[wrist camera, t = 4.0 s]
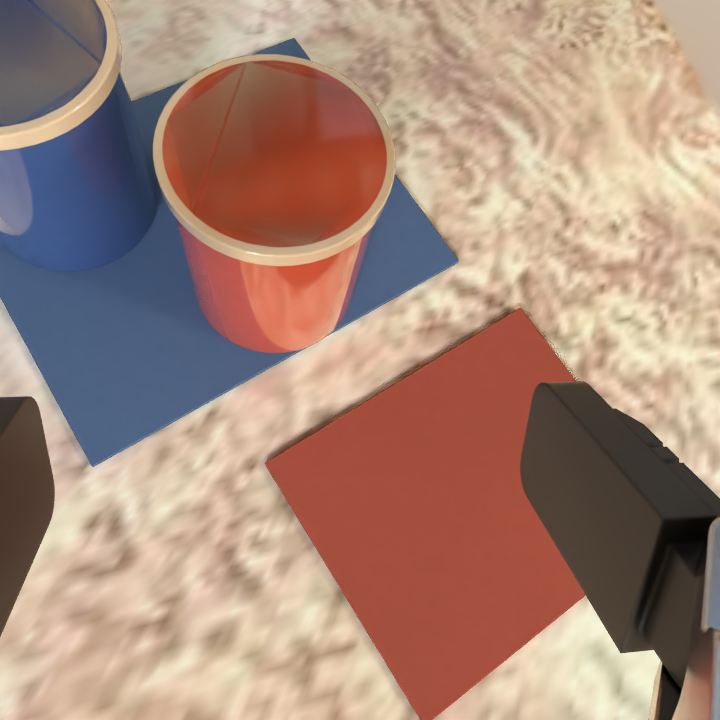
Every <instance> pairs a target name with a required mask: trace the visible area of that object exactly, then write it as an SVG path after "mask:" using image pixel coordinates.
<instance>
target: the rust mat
mask: <svg viewBox="0 0 720 720" xmlns="http://www.w3.org/2000/svg"><path fill="white" fill-rule="evenodd" d="M543 382H576V381H575V379H574V378H573V377H572V375H571V374H570V373H569V371H568V370H567V369H566V367H565V366H564V365H563V363H562V362H561V361H560V359H559V358H558V357H557V355H556V354H555V353H554V351H553V350H552V349H551V347H550V346H549V345H548V343H547V342H546V341H545V339H544V338H543V337H542V335H541V334H540V333H539V331H538V330H537V329H536V327H535V326H534V325H533V323H532V322H531V321H530V319H529V318H528V317H527V315H526V314H525V313H524V311H523V310H522V309H521V308H519V309H517V310H516V311H514V312H512V313H511V314H509V315H507V316H506V317H504V318H502V319H501V320H499V321H498V322H496V323H494V324H493V325H491V326H489V327H488V328H486V329H484V330H483V331H481V332H479V333H478V334H476V335H475V336H473V337H471V338H470V339H468V340H466V341H465V342H463V343H461V344H460V345H458V346H456V347H455V348H453V349H451V350H450V351H448V352H447V353H445V354H443V355H442V356H440V357H438V358H437V359H435V360H433V361H432V362H430V363H428V364H427V365H425V366H424V367H422V368H420V369H419V370H417V371H415V372H414V373H412V374H410V375H409V376H407V377H405V378H404V379H402V380H401V381H399V382H397V383H396V384H394V385H392V386H391V387H389V388H387V389H386V390H384V391H382V392H381V393H379V394H377V395H376V396H374V397H373V398H371V399H369V400H368V401H366V402H364V403H363V404H361V405H359V406H358V407H356V408H354V409H353V410H351V411H350V412H348V413H346V414H345V415H343V416H341V417H340V418H338V419H336V420H335V421H333V422H331V423H330V424H328V425H327V426H325V427H323V428H322V429H320V430H318V431H317V432H315V433H313V434H312V435H310V436H308V437H307V438H305V439H303V440H302V441H300V442H299V443H297V444H295V445H294V446H292V447H290V448H289V449H287V450H285V451H284V452H282V453H280V454H279V455H277V456H276V457H274V458H272V459H271V460H269V461H267V462H266V463H265V465H266V467H267V468H268V470H269V472H270V473H271V475H272V477H273V478H274V480H275V481H276V483H277V485H278V486H279V488H280V490H281V491H282V493H283V495H284V496H285V498H286V500H287V501H288V503H289V504H290V506H291V508H292V509H293V511H294V513H295V514H296V516H297V518H298V519H299V521H300V523H301V524H302V526H303V528H304V529H305V531H306V532H307V534H308V536H309V537H310V539H311V541H312V542H313V544H314V546H315V547H316V549H317V551H318V552H319V554H320V555H321V557H322V559H323V560H324V562H325V564H326V565H327V567H328V569H329V570H330V572H331V574H332V575H333V577H334V578H335V580H336V582H337V583H338V585H339V587H340V588H341V590H342V592H343V593H344V595H345V597H346V598H347V600H348V602H349V603H350V605H351V606H352V608H353V610H354V611H355V613H356V615H357V616H358V618H359V620H360V621H361V623H362V625H363V626H364V628H365V629H366V631H367V633H368V634H369V636H370V638H371V639H372V641H373V643H374V644H375V646H376V648H377V649H378V651H379V653H380V654H381V656H382V657H383V659H384V661H385V662H386V664H387V666H388V667H389V669H390V671H391V672H392V674H393V676H394V677H395V679H396V680H397V682H398V684H399V685H400V687H401V689H402V690H403V692H404V694H405V695H406V697H407V699H408V700H409V702H410V703H411V705H412V707H413V708H414V710H415V712H416V713H417V715H418V717H419V718H420V720H433V719H434V718H435V717H436V716H438V715H439V714H440V713H441V712H442V711H444V710H445V709H446V708H447V707H449V706H450V705H451V704H452V703H454V702H455V701H456V700H457V699H458V698H460V697H461V696H462V695H463V694H465V693H466V692H467V691H468V690H470V689H471V688H472V687H473V686H474V685H476V684H477V683H478V682H479V681H481V680H482V679H483V678H484V677H486V676H487V675H488V674H489V673H491V672H492V671H493V670H494V669H495V668H497V667H498V666H499V665H500V664H502V663H503V662H504V661H505V660H507V659H508V658H509V657H510V656H511V655H513V654H514V653H515V652H516V651H518V650H519V649H520V648H521V647H523V646H524V645H525V644H526V643H527V642H529V641H530V640H531V639H532V638H534V637H535V636H536V635H537V634H539V633H540V632H541V631H542V630H543V629H545V628H546V627H547V626H548V625H550V624H551V623H552V622H553V621H555V620H556V619H557V618H558V617H559V616H561V615H562V614H563V613H564V612H566V611H567V610H568V609H569V608H571V607H572V606H573V605H574V604H575V603H577V602H578V601H579V600H580V599H582V598H583V597H584V596H585V593H584V591H583V590H582V588H581V586H580V585H579V583H578V581H577V580H576V578H575V576H574V575H573V573H572V571H571V570H570V568H569V566H568V565H567V563H566V561H565V560H564V558H563V556H562V555H561V553H560V551H559V550H558V548H557V546H556V545H555V543H554V541H553V540H552V538H551V536H550V535H549V533H548V531H547V530H546V528H545V526H544V525H543V523H542V521H541V520H540V518H539V516H538V515H537V513H536V511H535V510H534V508H533V506H532V505H531V503H530V501H529V500H528V498H527V496H526V494H525V492H524V489H523V486H522V481H521V474H520V461H521V454H522V449H523V444H524V438H525V433H526V428H527V422H528V417H529V412H530V406H531V401H532V396H533V393H534V390H535V388H536V387H537V385H538V384H540V383H543Z"/></svg>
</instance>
